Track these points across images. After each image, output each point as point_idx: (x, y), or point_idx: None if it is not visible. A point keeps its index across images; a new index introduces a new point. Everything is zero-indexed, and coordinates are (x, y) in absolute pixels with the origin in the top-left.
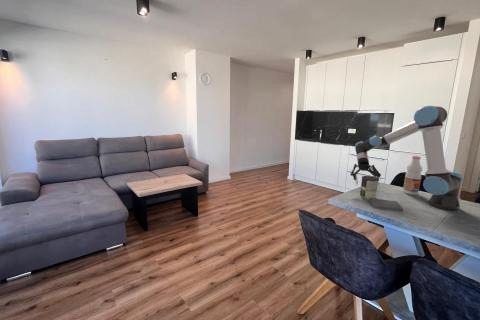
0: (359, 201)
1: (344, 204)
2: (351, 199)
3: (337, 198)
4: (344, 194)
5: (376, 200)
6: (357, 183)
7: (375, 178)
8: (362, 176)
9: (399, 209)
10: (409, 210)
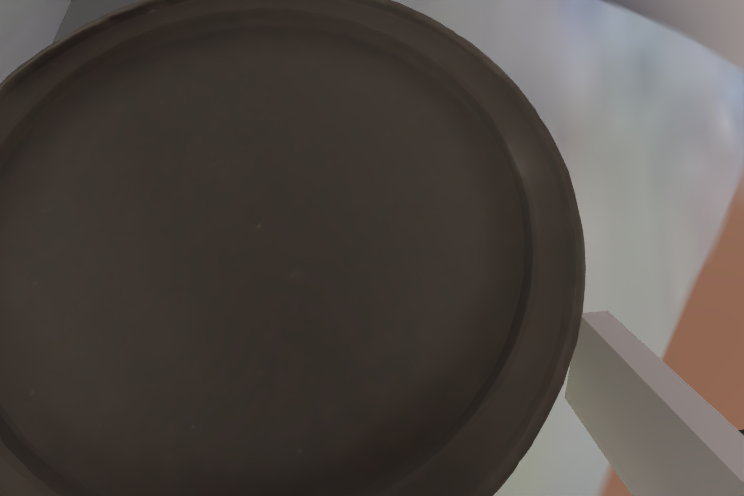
0: None
1: (626, 14)
2: None
3: (719, 155)
4: (655, 348)
5: None
6: (579, 341)
7: (42, 198)
8: (562, 344)
9: None
10: (10, 22)
